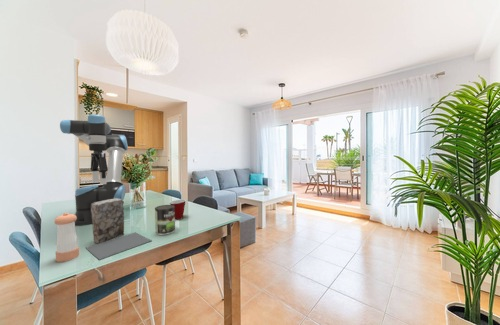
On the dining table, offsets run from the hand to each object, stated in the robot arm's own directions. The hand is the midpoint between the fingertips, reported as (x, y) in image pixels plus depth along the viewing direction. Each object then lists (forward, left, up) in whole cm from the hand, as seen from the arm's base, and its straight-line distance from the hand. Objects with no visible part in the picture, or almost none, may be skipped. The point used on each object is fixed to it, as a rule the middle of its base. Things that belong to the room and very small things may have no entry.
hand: (99, 183), depth 110 cm
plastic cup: (+13, +40, -28) cm, 50 cm away
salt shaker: (+20, -18, -28) cm, 39 cm away
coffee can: (+28, +22, -28) cm, 45 cm away
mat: (+25, 0, -28) cm, 37 cm away
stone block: (+12, 0, -28) cm, 31 cm away
